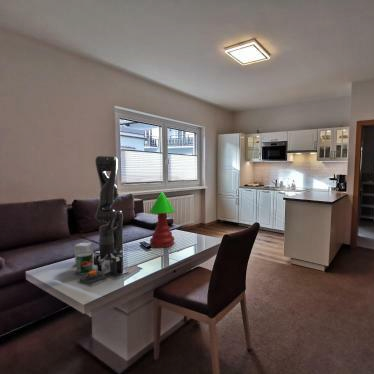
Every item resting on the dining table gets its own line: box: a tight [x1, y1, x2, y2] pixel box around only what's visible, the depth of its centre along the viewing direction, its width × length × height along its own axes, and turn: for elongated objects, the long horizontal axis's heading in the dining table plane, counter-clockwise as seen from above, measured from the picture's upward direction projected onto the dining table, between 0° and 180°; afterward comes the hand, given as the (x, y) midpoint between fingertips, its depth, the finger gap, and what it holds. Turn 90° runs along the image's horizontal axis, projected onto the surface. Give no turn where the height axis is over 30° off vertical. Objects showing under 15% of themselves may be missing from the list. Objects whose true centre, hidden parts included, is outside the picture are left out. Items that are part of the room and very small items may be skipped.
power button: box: [88, 269, 98, 276], centre depth 128 cm, size 4×4×2 cm
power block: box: [79, 270, 107, 285], centre depth 128 cm, size 10×8×4 cm
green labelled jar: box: [74, 242, 94, 266], centre depth 152 cm, size 8×6×13 cm
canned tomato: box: [76, 252, 94, 275], centre depth 139 cm, size 8×8×11 cm
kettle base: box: [104, 255, 129, 279], centre depth 136 cm, size 10×8×11 cm
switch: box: [104, 257, 120, 269], centre depth 138 cm, size 12×3×3 cm
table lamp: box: [149, 191, 176, 249], centre depth 195 cm, size 20×20×45 cm
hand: (107, 268), depth 140 cm, fingers open, 8 cm apart
